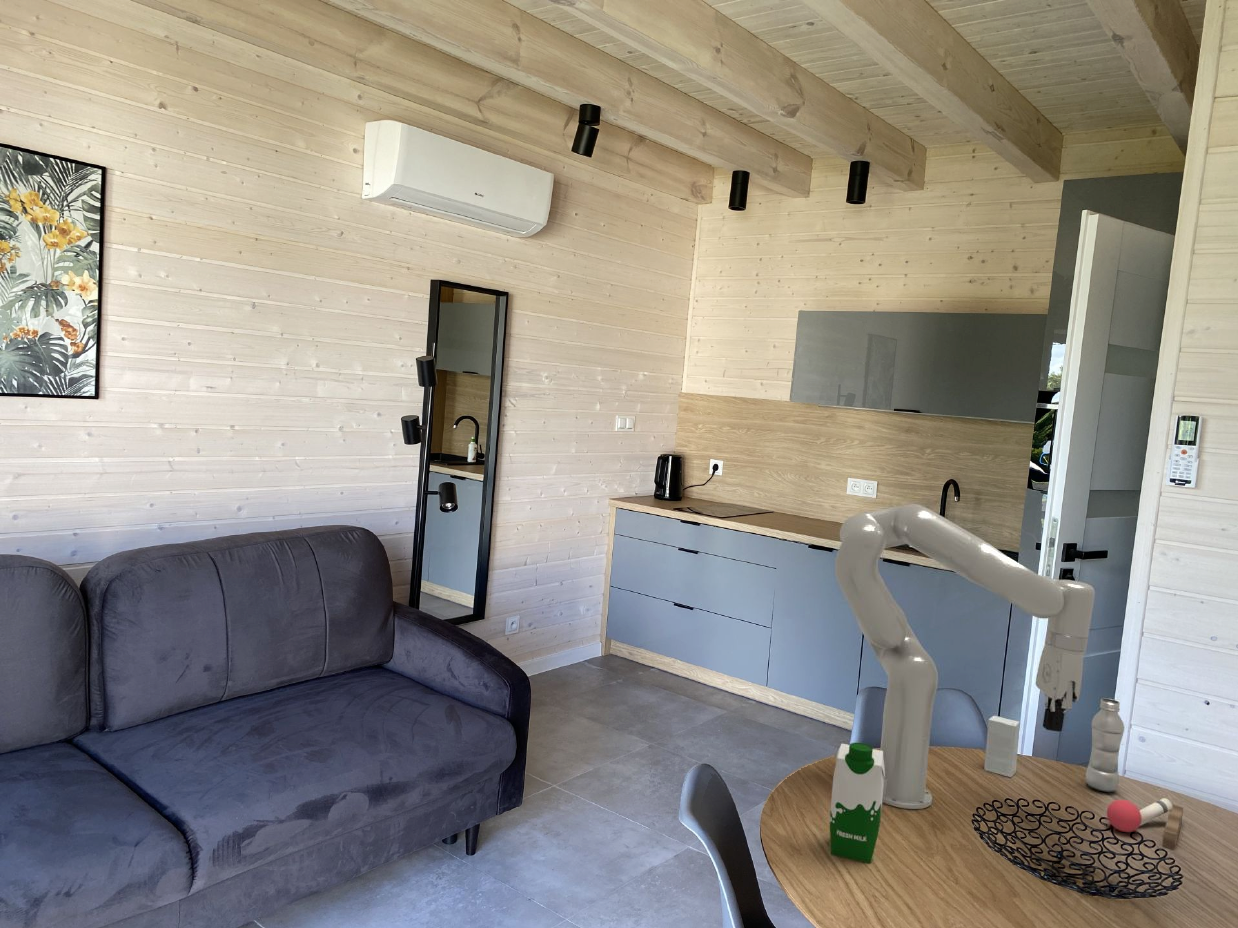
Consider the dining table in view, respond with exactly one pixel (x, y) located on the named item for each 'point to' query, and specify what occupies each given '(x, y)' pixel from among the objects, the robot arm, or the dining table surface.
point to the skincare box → (1002, 746)
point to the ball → (1124, 815)
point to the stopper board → (1172, 827)
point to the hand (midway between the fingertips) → (1052, 729)
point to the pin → (1155, 810)
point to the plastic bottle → (1105, 747)
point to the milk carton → (856, 801)
